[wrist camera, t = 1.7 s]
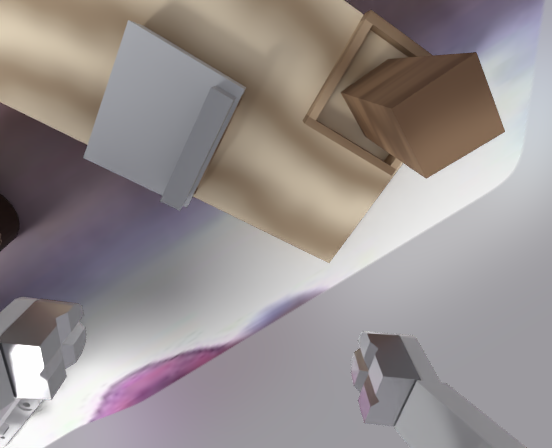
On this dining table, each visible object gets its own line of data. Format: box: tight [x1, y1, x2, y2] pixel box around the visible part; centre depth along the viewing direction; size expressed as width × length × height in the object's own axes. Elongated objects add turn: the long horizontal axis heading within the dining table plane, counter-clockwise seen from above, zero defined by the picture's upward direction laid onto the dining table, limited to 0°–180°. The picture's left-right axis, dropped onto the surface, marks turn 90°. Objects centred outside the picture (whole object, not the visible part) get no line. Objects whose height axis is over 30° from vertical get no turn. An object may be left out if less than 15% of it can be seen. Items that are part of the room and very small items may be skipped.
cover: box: [83, 20, 246, 211], centre depth 23 cm, size 10×8×5 cm
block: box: [341, 52, 505, 178], centre depth 20 cm, size 4×4×11 cm
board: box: [0, 0, 433, 263], centre depth 24 cm, size 18×33×4 cm, turn 60°
